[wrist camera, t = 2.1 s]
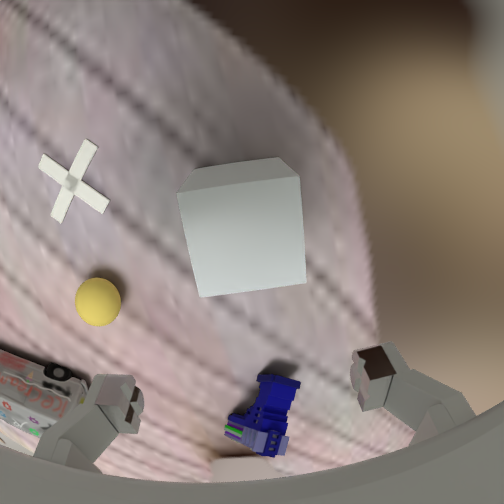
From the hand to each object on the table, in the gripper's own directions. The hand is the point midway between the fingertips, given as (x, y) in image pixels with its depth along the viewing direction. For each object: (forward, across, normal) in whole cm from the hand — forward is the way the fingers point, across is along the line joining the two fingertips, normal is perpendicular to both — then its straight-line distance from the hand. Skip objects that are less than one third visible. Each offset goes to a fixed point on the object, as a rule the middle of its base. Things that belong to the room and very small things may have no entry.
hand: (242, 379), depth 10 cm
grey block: (+19, -1, -1) cm, 19 cm away
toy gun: (+20, +1, +26) cm, 33 cm away
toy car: (+20, +37, +20) cm, 47 cm away
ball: (+17, +15, +6) cm, 23 cm away
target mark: (+19, +15, -6) cm, 25 cm away
